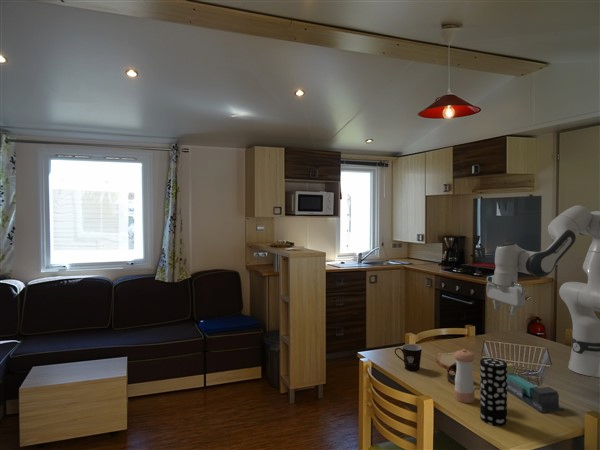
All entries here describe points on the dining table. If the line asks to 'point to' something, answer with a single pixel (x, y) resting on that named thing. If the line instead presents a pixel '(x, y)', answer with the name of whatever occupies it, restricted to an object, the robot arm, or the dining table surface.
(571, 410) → the dining table surface
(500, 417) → the white-spotted black cylinder
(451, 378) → the pottery mug
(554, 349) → the dining table surface
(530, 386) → the teal yellow slider block
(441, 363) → the bread slice
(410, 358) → the coffee mug
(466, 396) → the pepper shaker
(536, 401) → the guide
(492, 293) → the robot arm
